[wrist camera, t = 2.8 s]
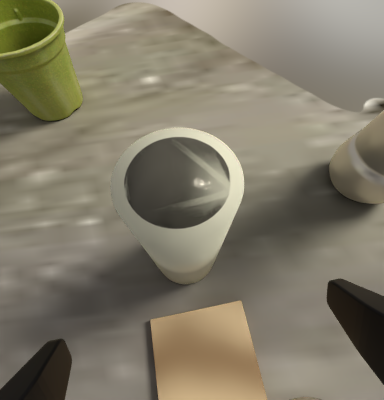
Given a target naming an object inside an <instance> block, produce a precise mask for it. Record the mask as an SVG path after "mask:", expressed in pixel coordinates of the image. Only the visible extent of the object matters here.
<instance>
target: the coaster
mask: <svg viewBox="0 0 384 400" xmlns="http://www.w3.org/2000/svg"><path fill="white" fill-rule="evenodd" d="M150 321H151V331H152V341H153V351H154V360H155V370H156V380H157V390H158V399H159V400H267V397H266V393H265V389H264V385H263V382H262V378H261V374H260V370H259V366H258V362H257V359H256V355H255V351H254V347H253V343H252V340H251V336H250V332H249V328H248V324H247V321H246V317H245V313H244V309H243V305H242V301H241V300H240V301H236V302H231V303H226V304H222V305H217V306H212V307H208V308H203V309H198V310H194V311H189V312H184V313H180V314H175V315H170V316H166V317H161V318H156V319H152V320H150Z"/></svg>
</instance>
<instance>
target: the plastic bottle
mask: <svg viewBox="0 0 384 400" xmlns="http://www.w3.org/2000/svg"><path fill="white" fill-rule="evenodd" d="M329 173H330V179H331V181H332V183H333V185H334V187H335V188H336V189H337V190H338V191H339V192H340V193H341V194H342V195H344V196H346V197H347V198H349V199H351V200H354V201H357V202H361V203H368V204H380V203H384V111H383V112H381V113H380V114H379V115H378V116H377V117H376V118H375V119H374V120H372V121H371V122H370V123H369V124H368V125H367V126H366V127H365V128H363V129H362V130H360V131H359V132H357V133H356V134H355V135H353V136H352V137H350V138H349V139H348V140H347V141H346V142H344V143H343V144H342V145H341V146H340V147H339V148H338V149H337V151H336V152H335V154H334V156H333V157H332V159H331V161H330V164H329Z"/></svg>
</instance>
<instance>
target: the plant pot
mask: <svg viewBox="0 0 384 400" xmlns="http://www.w3.org/2000/svg"><path fill="white" fill-rule="evenodd" d="M63 25H64V16H63V13H62V11H61V9H60V7H59V6H58V5H57V4H56V3H54V2H53V1H51V0H0V83H1V84H2V85H3V86H4V87H5V88H6V89H7V90H8V91H9V92H10V93H11V94H12V95H13V96H14V97H15V98H16V99H17V100H18V101H19V102H21V103H22V104H23V105H24V106H25V107H26V108H27V109H28V110H29V111H30V112H31V113H32V114H33V115H34V116H36V117H38V118H40V119H42V120H47V121H54V120H60V119H63V118H66V117H68V116H70V115H71V114H72V112H73V111H74V110H75V109H77V108H79V107H80V106H81V104H82V101H83V96H82V92H81V89H80V86H79V83H78V80H77V77H76V74H75V71H74V68H73V65H72V62H71V58H70V55H69V52H68V49H67V46H66V43H65V32H64V29H63Z"/></svg>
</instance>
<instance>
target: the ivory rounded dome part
mask: <svg viewBox="0 0 384 400" xmlns="http://www.w3.org/2000/svg"><path fill="white" fill-rule="evenodd" d="M291 400H321V399H317V398H312V397H300V398H294V399H291Z"/></svg>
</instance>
